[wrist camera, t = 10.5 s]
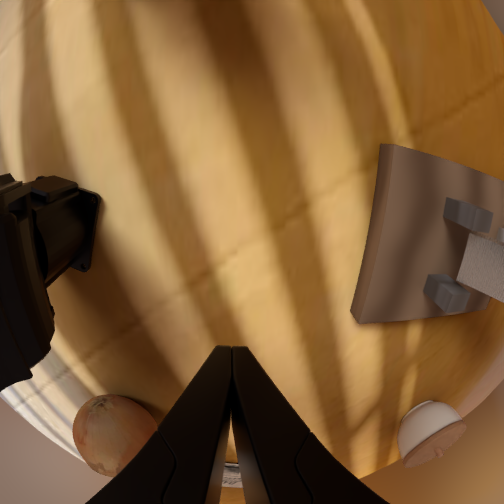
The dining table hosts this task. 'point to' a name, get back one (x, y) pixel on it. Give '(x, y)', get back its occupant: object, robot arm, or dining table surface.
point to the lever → (483, 265)
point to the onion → (111, 432)
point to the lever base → (423, 237)
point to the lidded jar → (428, 432)
